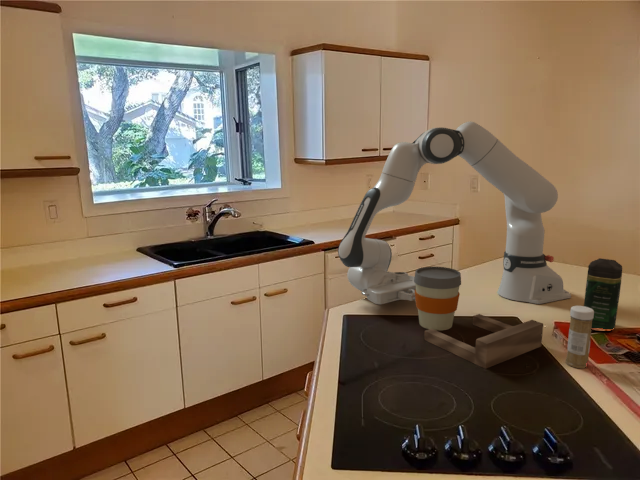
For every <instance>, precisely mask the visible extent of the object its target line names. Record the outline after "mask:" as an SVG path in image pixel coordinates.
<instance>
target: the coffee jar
mask: <svg viewBox="0 0 640 480" xmlns="http://www.w3.org/2000/svg"><path fill="white" fill-rule="evenodd" d="M587 268H588V269H587V273H586V283H585V291H584V292H585V293H584V300H583V306H585V307H589V308H591V309H593V310H594V318H593V320H592V328H603V329H613V328H614V329H615V328H616V322H617V315H618V307H619V302H620V295H621V294H620V293H621V287H622V275H623V266H622V264H621V263H619V262H617V260H616V259H615V260H614V259H608V258H599V257H598V259H594V260H592V261H591V262H589V264H588V266H587Z"/></svg>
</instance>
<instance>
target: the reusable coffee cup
mask: <svg viewBox="0 0 640 480" xmlns="http://www.w3.org/2000/svg"><path fill="white" fill-rule="evenodd" d="M461 274H462V273H461V272H460V271H459V270H457V269H455V268H451V267H445V266H424V267H419V268H417V269H415V273H414V282H415V285H416V290H415V299H416V300H415V307H416V309H417V313H418V314H417V315H418V323H419V326H421V327H422V328H424V329H426V330H429V329H434V330H436V331H446V330H449V329H452V328H453V322H454V318H455V312H456V311H457V310H458V305H459V299H460V295H461V294H460V292H459V290H460V287H461V285H462V275H461Z"/></svg>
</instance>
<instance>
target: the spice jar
mask: <svg viewBox="0 0 640 480" xmlns="http://www.w3.org/2000/svg"><path fill="white" fill-rule="evenodd" d="M569 315H570V316H569V317H570V322H569V329H568V339H567V348H566V349H567V353H566V360H565V363H566V364H567V365H568V366H570V367H573V368H575V369H576V368H577V369H586V368H587V367H586V363H587V361H588V362H589V354H590V350H591V348H590V347H591V335H592V330H591V328H592V320H593V318H594V310H593V309H591V308H589V307H585V306H584V305H574V306H571V307H570V311H569ZM585 367H586V368H585Z"/></svg>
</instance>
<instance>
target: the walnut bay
mask: <svg viewBox="0 0 640 480" xmlns="http://www.w3.org/2000/svg"><path fill="white" fill-rule="evenodd" d="M472 325H473V326H475V327H479V328H481V329H484V330H486V331H489V332H492V333H490V334H487V335H484V336H481V337H478V338H476V340H475V346H472V345H470V344H468V343H465V342H464V341H463V342H462V341H461V340H458V339H456V338H454V337H452V336H450V335H447V334H445V333H442V332H441V331H439V330H434V329H426V330H424V334H423V335H424V338H423V339H424V341H426V342H428V343H430V344H432V345H435V346H436V347H439V348H441V349H443V350H444V351H448V352H449V353H451V354H453V355H456V356H457V357H459V358H461V359H464V360H466V361H468V362H470V363H472V364H474V365H476V366H479V367H480V368H482V369H485V370H486V369H489V368H492V367H494V366H496V365H498V364H501V363H504V362H506V361H509V360H511V359H514V358H517V357H519V356H521V355H523V354H526V353H528V352H531V351H533V350H536V349H539V348H541V347H542V342H543V333H544V332H543V330H544V323H543V322H540V321H536V320H534V319H531V320H528V321H525V322H522V323H519V324H516V325H510V324H509V323H504V322H502V321H499V320H497V319H493V318H491V317H488V316H485V315H482V314H481V313H478V314H475V315H473V316H472Z"/></svg>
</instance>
